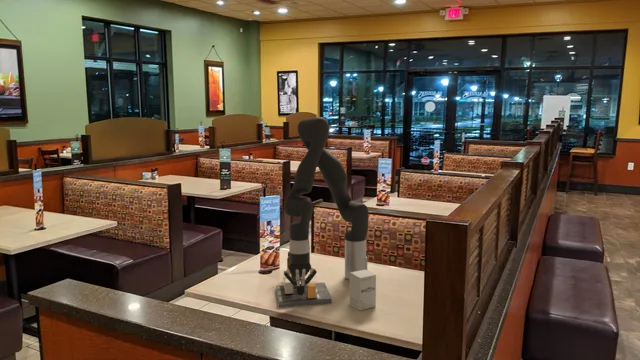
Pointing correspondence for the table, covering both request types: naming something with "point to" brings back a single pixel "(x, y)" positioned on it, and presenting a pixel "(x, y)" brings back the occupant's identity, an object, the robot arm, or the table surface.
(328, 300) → the panel
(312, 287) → the block
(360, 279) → the supplement box
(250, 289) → the table surface
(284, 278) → the block
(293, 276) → the condiment
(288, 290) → the block
